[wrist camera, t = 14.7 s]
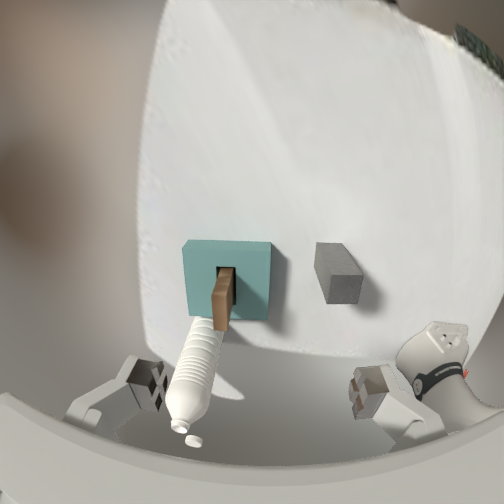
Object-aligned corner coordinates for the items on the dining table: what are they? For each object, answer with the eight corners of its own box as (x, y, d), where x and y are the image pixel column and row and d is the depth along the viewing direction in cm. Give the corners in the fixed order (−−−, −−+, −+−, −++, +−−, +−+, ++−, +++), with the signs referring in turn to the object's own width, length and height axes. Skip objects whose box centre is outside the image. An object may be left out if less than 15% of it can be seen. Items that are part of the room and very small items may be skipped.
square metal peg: (341, 243, 45) (363, 275, 34) (338, 267, 46) (357, 303, 35) (316, 242, 45) (331, 274, 34) (313, 266, 47) (326, 304, 36)
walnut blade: (235, 260, 47) (225, 296, 36) (235, 290, 49) (227, 331, 38) (223, 259, 47) (211, 295, 36) (224, 289, 49) (213, 330, 38)
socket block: (270, 242, 45) (270, 251, 42) (267, 307, 50) (267, 320, 47) (188, 239, 46) (182, 248, 42) (194, 303, 51) (189, 315, 47)
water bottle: (188, 315, 52) (147, 417, 29) (218, 308, 51) (188, 417, 28) (205, 346, 55) (178, 447, 32) (234, 341, 54) (217, 447, 31)
